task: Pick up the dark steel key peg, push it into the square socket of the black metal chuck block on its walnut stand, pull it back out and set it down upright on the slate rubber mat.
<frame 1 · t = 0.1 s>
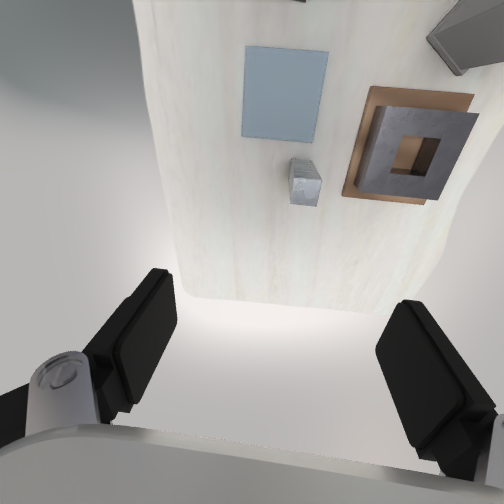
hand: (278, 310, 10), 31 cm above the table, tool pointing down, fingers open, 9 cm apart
key peg: (299, 170, 37), on the table
chuck block: (407, 153, 32), on the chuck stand, point 3 cm above the table
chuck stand: (398, 150, 34), on the table
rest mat: (281, 97, 33), on the table
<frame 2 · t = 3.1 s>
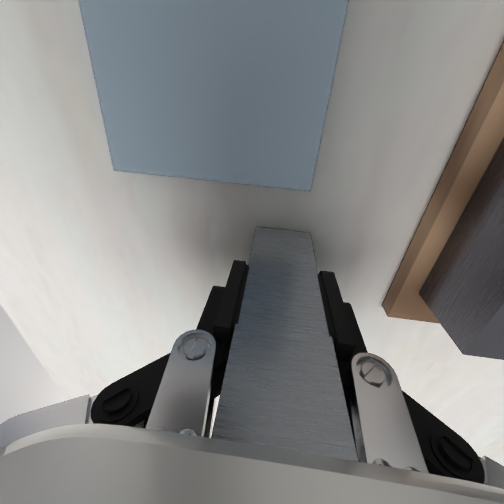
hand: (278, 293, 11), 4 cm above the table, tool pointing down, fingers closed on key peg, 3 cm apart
key peg: (279, 252, 15), on the table, touching gripper
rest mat: (212, 56, 10), on the table
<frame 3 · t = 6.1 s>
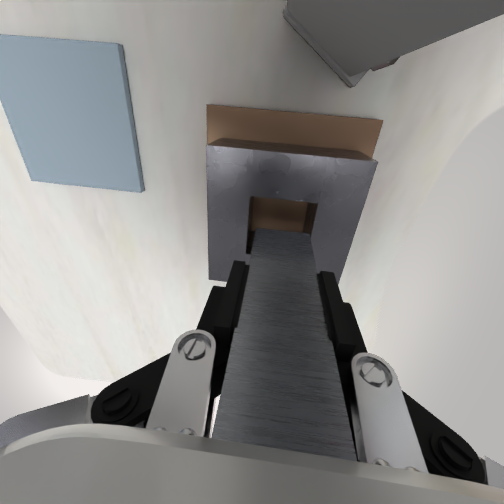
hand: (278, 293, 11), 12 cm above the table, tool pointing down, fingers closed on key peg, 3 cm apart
key peg: (279, 253, 15), point 8 cm above the table, touching gripper
chuck block: (279, 219, 19), on the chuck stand, point 3 cm above the table
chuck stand: (279, 205, 21), on the table
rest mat: (73, 121, 19), on the table
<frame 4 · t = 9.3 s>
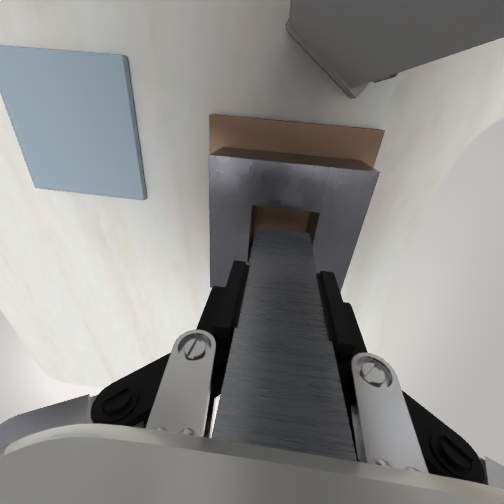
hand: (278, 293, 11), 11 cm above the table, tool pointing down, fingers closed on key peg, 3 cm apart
key peg: (279, 252, 15), point 7 cm above the table, touching gripper
chuck block: (281, 227, 19), on the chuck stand, point 3 cm above the table
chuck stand: (281, 213, 21), on the table
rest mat: (77, 130, 20), on the table
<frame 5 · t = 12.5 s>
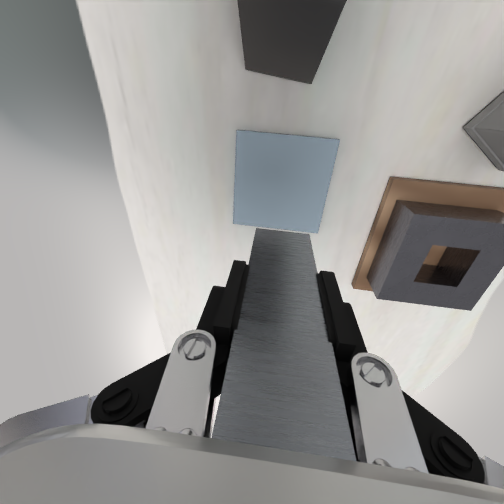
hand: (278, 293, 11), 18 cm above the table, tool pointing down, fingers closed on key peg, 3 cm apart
phone stand: (291, 10, 20), on the table
key peg: (279, 253, 15), point 14 cm above the table, touching gripper
chuck block: (434, 256, 26), on the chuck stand, point 3 cm above the table
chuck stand: (421, 242, 29), on the table
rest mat: (280, 184, 27), on the table
when the fingers open (5 cm above the table, at t = 15.5 s): key peg stays where it is, resting on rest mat.
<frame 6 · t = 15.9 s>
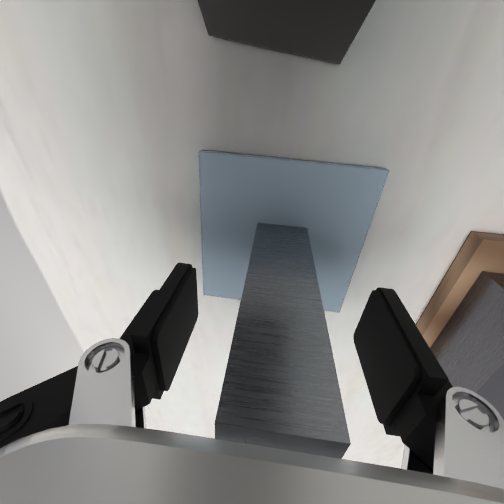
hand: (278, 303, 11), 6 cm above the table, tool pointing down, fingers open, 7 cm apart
key peg: (279, 246, 16), point 1 cm above the table, touching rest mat
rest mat: (279, 239, 16), on the table
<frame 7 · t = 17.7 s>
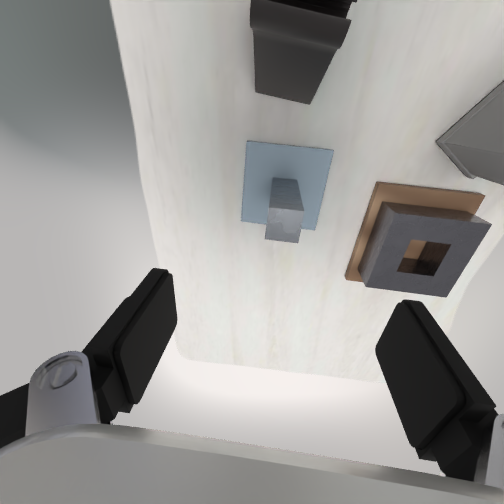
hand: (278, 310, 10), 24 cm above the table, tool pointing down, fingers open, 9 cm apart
phone stand: (294, 46, 25), on the table
key peg: (283, 190, 31), point 1 cm above the table, touching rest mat
chuck block: (414, 250, 30), on the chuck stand, point 3 cm above the table
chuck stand: (404, 239, 33), on the table
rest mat: (283, 187, 31), on the table
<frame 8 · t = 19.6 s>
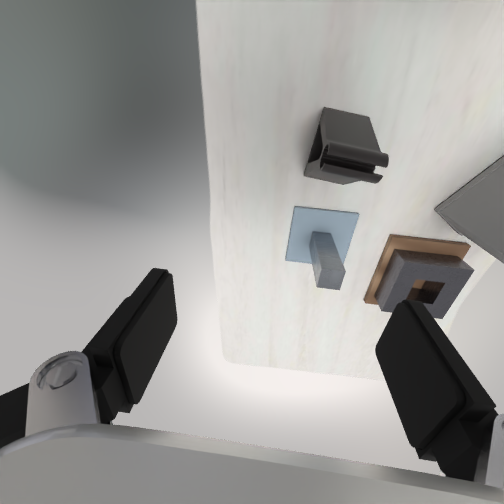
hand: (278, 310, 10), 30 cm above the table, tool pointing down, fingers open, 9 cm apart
phone stand: (333, 147, 35), on the table
cassette tape recorder: (491, 186, 35), on the table
key peg: (319, 240, 41), point 1 cm above the table, touching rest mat
chuck block: (418, 284, 41), on the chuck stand, point 3 cm above the table
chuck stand: (410, 273, 43), on the table
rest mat: (319, 237, 42), on the table
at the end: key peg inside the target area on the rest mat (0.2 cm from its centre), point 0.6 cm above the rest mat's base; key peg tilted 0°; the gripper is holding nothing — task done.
